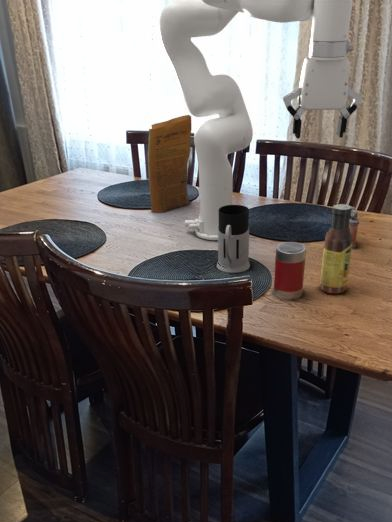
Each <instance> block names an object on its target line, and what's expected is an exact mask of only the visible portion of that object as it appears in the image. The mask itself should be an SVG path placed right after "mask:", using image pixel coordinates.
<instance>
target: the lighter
mask: <svg viewBox="0 0 392 522" xmlns="http://www.w3.org/2000/svg"><path fill="white" fill-rule="evenodd" d="M351 207H352V211H351V214H350V221H349V228H350V232H351V236H352V241H353V244H352V250H353V249H355V248H357V235H358V228H359V225H360V218H358V215H359V213H358V211H357V210H356V207H355V206H351Z"/></svg>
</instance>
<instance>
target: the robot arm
mask: <svg viewBox="0 0 392 522" xmlns="http://www.w3.org/2000/svg"><path fill="white" fill-rule="evenodd" d="M353 3H354V0H172V1H170V2H168V3H167V4H165V6H164V7H163V9H162V10H161V13H160V16H159V21H158V22H159V23H158V31H159V32H158V33H159V38H160V42H161V45H162V48H163V51H164V52H165V54H166V57H167V58H168V60H169V63H170V64H171V66H172V69H173V71H174V74H175V77H176V79H177V82H178V85H179V89H180V90H181V93H182V96H183V99H184V102H185V104H186V107H187V109H188V111H189V113H190V114H191V116H194V117H196V118H203V117H204V118H205V117H210V116H214V115H218V117H216V118H211V119H208V120H206V121H203V122H202V123H200V124H199V125H198V126H197V127H196V129H195V131H194V135H193V143H194V149H195V154H196V157H197V159H196V160H197V167H198V188H199V191H198V192H199V194H198V195H199V215H198V218H195V219H185V220H184V225H185V226H184V227H185V228H188V229H189V230H193V229H195V230H194V231H195V232H194V233H195V236H196V237H198V238H200V239H203V240H207V241H218V226H219V208H221V207H223V206H226V205H234V204H233V201H234V199H233V195H234V194H233V192H234V191H233V189H234V187H233V182H234V180H233V179H234V176H233V175H234V174H233V173H234V172H233V168H232V165H231V163H230V160H229V158H228V155H230V154H233V153H236V152H240V151H243V150H245V149H247V148H248V147H249V146H250V144H251V143H252V140H253V135H254V134H253V133H254V130H253V125H252V121H251V118H250V115H249V112H248V109H247V106H246V103H245V100H244V97H243V94H242V91H241V89H240V86H239V84H238V83H237V82H236V80H235V79H234V78H233V77H231V76H230V75H228V74H215V75H213V74H211V72H210V70H209V68H208V65H207V62H206V61H207V60H206V59H205V56H204V55H203V53H202V51H201V50H200V49H199V48H198V47H197V45H195V44H194V42H193V41H192V38H201V37H211V36H215V35H217V34H219V33H221V32H222V31H223V30H224V29H225V28H226V27H227V26H228V25H229V23H230V22H231V21H232V20H233V19H234V18H235V17H236V16H237V14H238V13H243V14H246V15H247V16H249V17H251V18H254V19H258V20H263V21H267V22H273V23H280V24H281V23H282V24H283V23H284V24H285V23H294V22H309V21H312V23H311V34H310V42H309V43H310V44H309V53H308V55H309V56H308V57H305V58H304V60H303V64H302V68H301V74H300V80H299V86H298V88H296V89H294V90H292V91H291V92H289V93H288V94H285V95H284V96H283V97H282V101H283V103H284V106H285V108H286V110H287V111H288V113H289V114H290V116H291V117H293V122H292V123H293V124H292V134H294V137H295V139H300V138H301V133H302V121H303V120H302V119H301V117H302V116H303V115H304V113H305V112H306V111H337V110H338V112H339V116H338V118H337V125H336V132H335V133H336V136H338V137H339V138H344V134H345V133H346V131H347V123H348V119H350V116H351V115H352V114H353V113H354V112H355V111H357V109H358V107H359V106H360V104H361V102H362V101H363V98H364V97H363V95H361V93H358V92H356V91H355V90H353V89H352V88H350V87H349V81H350V80H349V79H350V63H349V62H350V61H349V58H348V57H347V55H348V53H349V52H353V51H354V48H355V44H354V43H350V42H349V32H350V24H351V18H352V11H353V10H352V9H353ZM348 96H349V97H351V98H352V99H353V100H352V102H351V103H350V104H349V105H348V106H347V103H348ZM296 98H297V105H298V106H297V107H296V108H294V107H293V105H292V101H293V100H294V99H296ZM346 106H347V107H346Z"/></svg>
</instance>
